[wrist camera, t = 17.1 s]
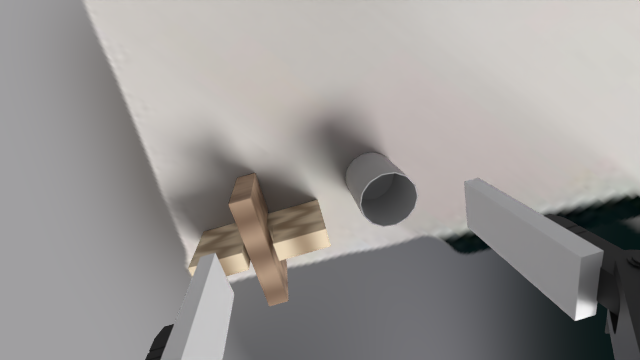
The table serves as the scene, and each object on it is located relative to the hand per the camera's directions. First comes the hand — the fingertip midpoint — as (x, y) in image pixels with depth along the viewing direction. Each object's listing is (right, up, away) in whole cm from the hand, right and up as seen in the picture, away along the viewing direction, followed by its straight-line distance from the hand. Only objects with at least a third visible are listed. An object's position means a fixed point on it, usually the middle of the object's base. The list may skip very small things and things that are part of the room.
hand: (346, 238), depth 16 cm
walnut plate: (-11, -4, +38) cm, 39 cm away
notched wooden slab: (-11, -4, +38) cm, 39 cm away
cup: (+7, +4, +37) cm, 38 cm away
